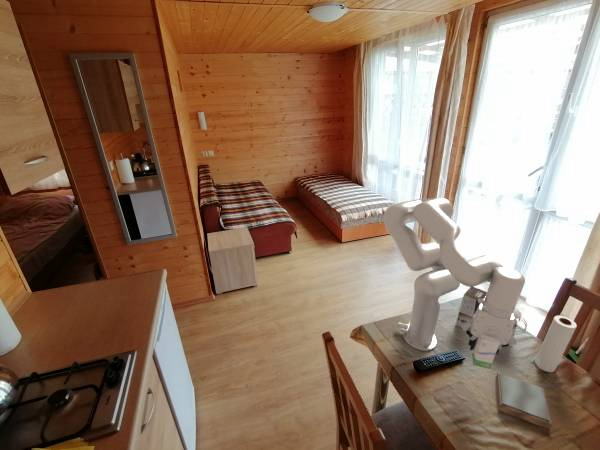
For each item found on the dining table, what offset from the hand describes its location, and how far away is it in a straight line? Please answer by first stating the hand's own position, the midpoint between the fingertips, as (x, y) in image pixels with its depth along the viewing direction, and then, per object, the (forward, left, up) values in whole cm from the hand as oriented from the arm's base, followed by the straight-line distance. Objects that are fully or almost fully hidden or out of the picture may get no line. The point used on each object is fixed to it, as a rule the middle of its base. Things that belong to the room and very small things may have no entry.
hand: (481, 350), depth 96 cm
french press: (+11, +30, -17) cm, 36 cm away
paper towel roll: (+24, +22, -17) cm, 37 cm away
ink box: (0, 0, -3) cm, 3 cm away
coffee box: (-2, +33, -17) cm, 37 cm away
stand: (+14, +1, -16) cm, 22 cm away
